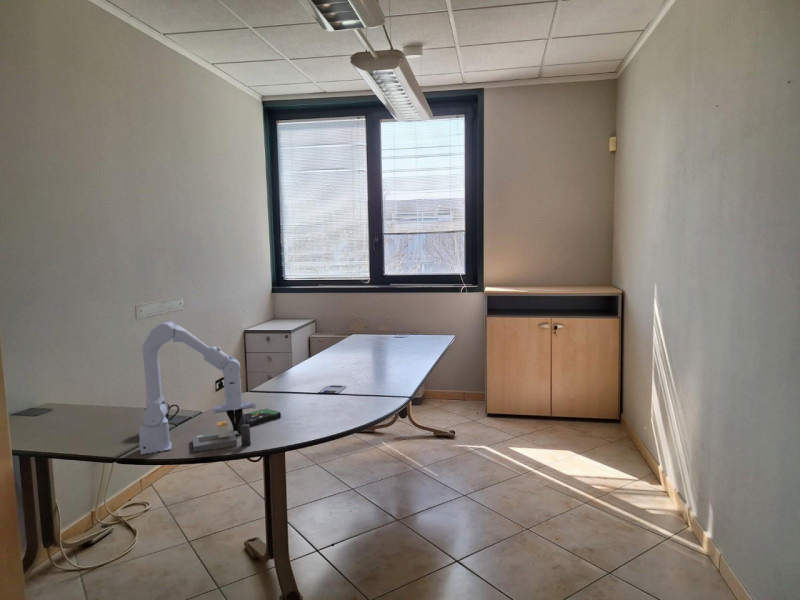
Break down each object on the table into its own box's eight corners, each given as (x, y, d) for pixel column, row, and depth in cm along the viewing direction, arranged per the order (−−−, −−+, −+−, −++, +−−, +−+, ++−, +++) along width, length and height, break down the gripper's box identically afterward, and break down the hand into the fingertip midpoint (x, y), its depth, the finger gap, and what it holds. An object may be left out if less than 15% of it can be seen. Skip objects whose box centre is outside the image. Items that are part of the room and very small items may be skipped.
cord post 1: (237, 434, 197) (236, 416, 197) (236, 432, 200) (235, 413, 199) (246, 433, 198) (245, 414, 198) (245, 431, 201) (244, 412, 200)
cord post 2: (242, 447, 184) (241, 427, 184) (241, 444, 187) (240, 424, 186) (251, 445, 185) (250, 425, 185) (250, 442, 188) (249, 423, 188)
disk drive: (249, 429, 205) (281, 418, 216) (249, 422, 205) (281, 411, 216) (234, 424, 212) (266, 414, 223) (234, 417, 212) (266, 407, 223)
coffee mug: (144, 435, 200) (142, 409, 199) (148, 428, 208) (146, 403, 207) (178, 431, 203) (176, 405, 202) (180, 424, 211) (178, 400, 210)
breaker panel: (193, 452, 181) (193, 446, 180) (192, 441, 192) (192, 435, 192) (237, 445, 186) (236, 439, 186) (233, 434, 197) (233, 429, 197)
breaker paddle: (218, 438, 187) (218, 425, 187) (218, 434, 191) (217, 422, 191) (227, 436, 189) (227, 424, 188) (226, 433, 192) (226, 421, 192)
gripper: (212, 398, 184) (214, 437, 185) (255, 393, 189) (258, 430, 190) (211, 393, 190) (213, 431, 191) (253, 388, 196) (255, 424, 197)
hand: (235, 430), depth 191 cm, fingers closed
